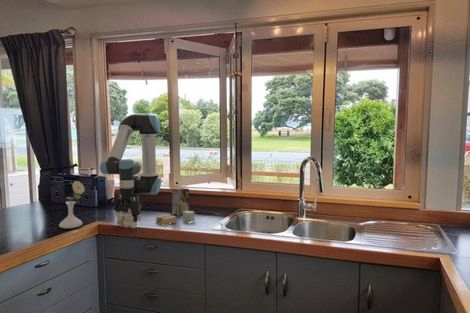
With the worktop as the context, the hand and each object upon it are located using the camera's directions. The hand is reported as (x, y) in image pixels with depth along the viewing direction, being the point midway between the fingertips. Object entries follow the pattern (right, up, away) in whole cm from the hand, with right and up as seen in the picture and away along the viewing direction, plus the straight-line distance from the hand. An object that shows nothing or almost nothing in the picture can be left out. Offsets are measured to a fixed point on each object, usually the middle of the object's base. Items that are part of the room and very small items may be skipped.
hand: (126, 225), depth 179 cm
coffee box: (+25, +1, +30) cm, 39 cm away
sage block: (+33, 0, +11) cm, 34 cm away
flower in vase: (-28, 0, -4) cm, 28 cm away
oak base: (+20, 0, +8) cm, 22 cm away
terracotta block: (-1, +1, +16) cm, 16 cm away
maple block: (0, 0, 0) cm, 0 cm away
